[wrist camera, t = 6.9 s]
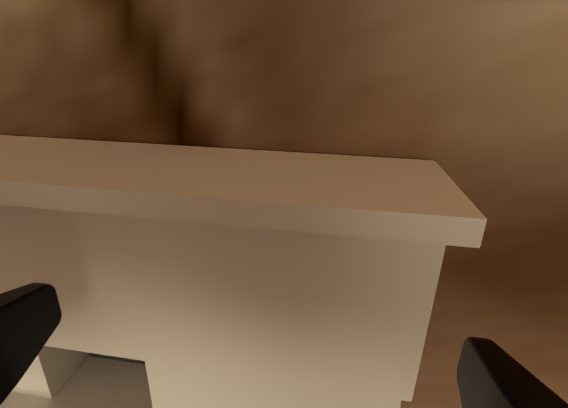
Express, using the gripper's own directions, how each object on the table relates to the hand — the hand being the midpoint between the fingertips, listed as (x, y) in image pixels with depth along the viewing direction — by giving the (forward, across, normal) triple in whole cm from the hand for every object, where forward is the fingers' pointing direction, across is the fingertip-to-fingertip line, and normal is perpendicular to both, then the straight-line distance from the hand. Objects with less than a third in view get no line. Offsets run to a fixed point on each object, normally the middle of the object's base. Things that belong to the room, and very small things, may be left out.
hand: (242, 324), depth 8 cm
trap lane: (+3, +7, +1) cm, 8 cm away
